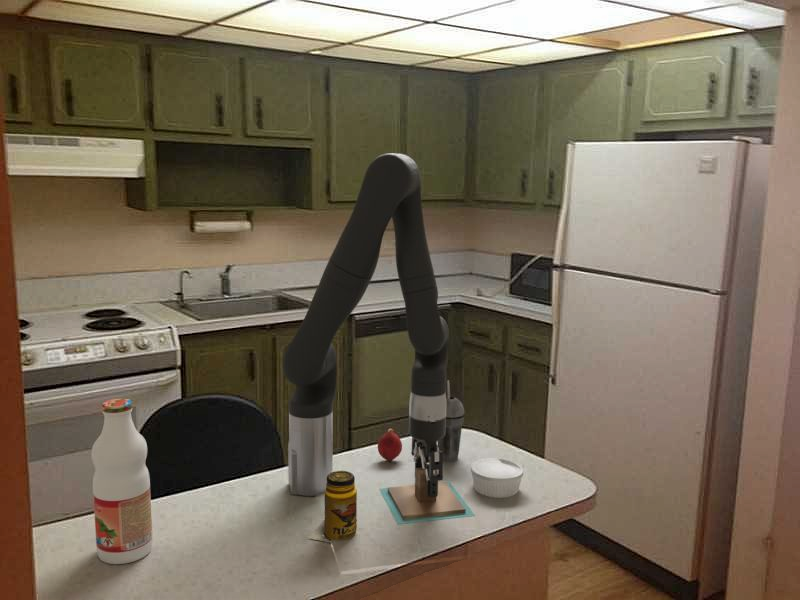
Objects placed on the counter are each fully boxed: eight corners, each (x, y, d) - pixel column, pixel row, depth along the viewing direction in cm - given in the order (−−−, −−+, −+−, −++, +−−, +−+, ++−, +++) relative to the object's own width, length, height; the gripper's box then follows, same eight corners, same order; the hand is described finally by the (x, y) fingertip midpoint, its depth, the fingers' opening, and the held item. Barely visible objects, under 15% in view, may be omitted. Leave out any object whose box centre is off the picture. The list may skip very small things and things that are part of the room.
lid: (403, 519, 141) (403, 487, 140) (387, 491, 154) (388, 461, 152) (465, 512, 144) (466, 481, 143) (445, 485, 157) (446, 456, 156)
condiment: (350, 547, 132) (350, 485, 130) (308, 539, 134) (307, 479, 132) (364, 528, 139) (364, 470, 136) (323, 521, 141) (323, 464, 139)
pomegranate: (398, 467, 167) (399, 434, 166) (374, 464, 168) (375, 432, 167) (403, 457, 173) (404, 426, 171) (380, 455, 174) (380, 424, 172)
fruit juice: (151, 562, 125) (143, 409, 120) (93, 568, 123) (83, 413, 118) (155, 535, 134) (148, 392, 129) (101, 541, 132) (91, 395, 127)
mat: (397, 526, 139) (397, 524, 139) (379, 490, 155) (379, 488, 155) (475, 517, 143) (475, 515, 143) (449, 484, 159) (449, 481, 159)
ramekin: (532, 490, 156) (533, 467, 156) (502, 507, 148) (503, 483, 147) (490, 475, 164) (491, 453, 163) (459, 490, 156) (460, 467, 155)
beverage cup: (468, 458, 173) (471, 378, 170) (454, 468, 167) (457, 385, 163) (442, 451, 177) (444, 373, 173) (427, 461, 171) (429, 380, 167)
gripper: (400, 403, 151) (399, 475, 154) (419, 426, 138) (417, 505, 141) (434, 400, 153) (432, 472, 156) (456, 423, 140) (454, 501, 143)
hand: (425, 487), depth 148 cm, fingers open, 8 cm apart
